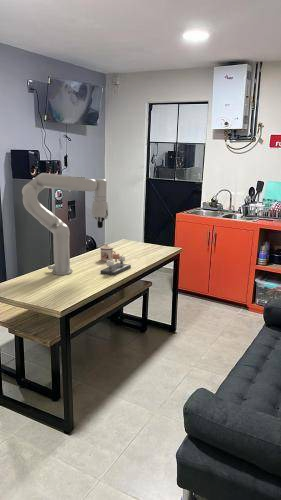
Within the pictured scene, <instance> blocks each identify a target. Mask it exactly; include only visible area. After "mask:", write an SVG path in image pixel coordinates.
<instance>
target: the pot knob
mask: <svg viewBox="0 0 281 500" xmlns="http://www.w3.org/2000/svg"><path fill="white" fill-rule="evenodd" d="M119 256H120V253H119V252H116V253H114V252H113V260H114V263H118V259H119Z"/></svg>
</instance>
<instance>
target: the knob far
mask: <svg viewBox="0 0 281 500" xmlns="http://www.w3.org/2000/svg"><path fill="white" fill-rule="evenodd" d="M118 261H119V263H120V264H124V262H125V261H126V256H125V255H119V259H117V262H118Z"/></svg>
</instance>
